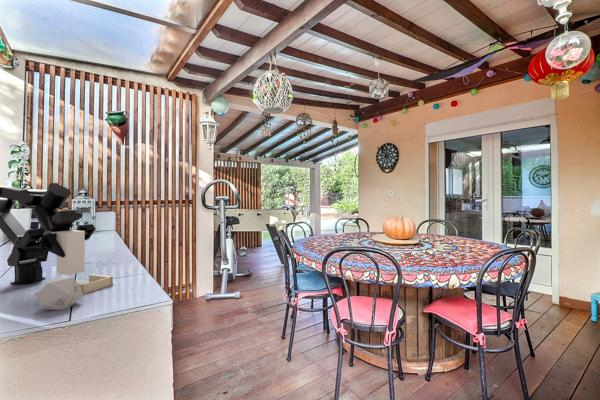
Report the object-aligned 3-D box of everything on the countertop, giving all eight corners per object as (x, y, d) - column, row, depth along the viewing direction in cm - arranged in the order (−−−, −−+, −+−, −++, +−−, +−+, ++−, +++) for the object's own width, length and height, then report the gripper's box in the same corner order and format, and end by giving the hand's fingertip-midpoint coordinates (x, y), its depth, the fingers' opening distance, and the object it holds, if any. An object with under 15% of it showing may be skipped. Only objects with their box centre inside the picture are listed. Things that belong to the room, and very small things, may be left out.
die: (43, 322, 66) (74, 285, 69) (17, 302, 68) (49, 266, 71) (69, 320, 74) (96, 287, 77) (46, 302, 75) (73, 270, 78)
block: (56, 273, 89) (56, 231, 89) (74, 270, 93) (74, 230, 93) (67, 275, 87) (67, 232, 87) (84, 271, 92) (84, 230, 92)
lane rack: (44, 291, 87) (44, 280, 87) (79, 282, 96) (79, 272, 96) (81, 297, 81) (80, 285, 81) (114, 286, 91) (114, 276, 91)
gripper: (24, 202, 83) (50, 241, 79) (91, 200, 100) (114, 233, 96) (9, 228, 85) (33, 268, 82) (76, 222, 103) (98, 255, 99)
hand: (73, 254), depth 90 cm, fingers closed on block, 5 cm apart
